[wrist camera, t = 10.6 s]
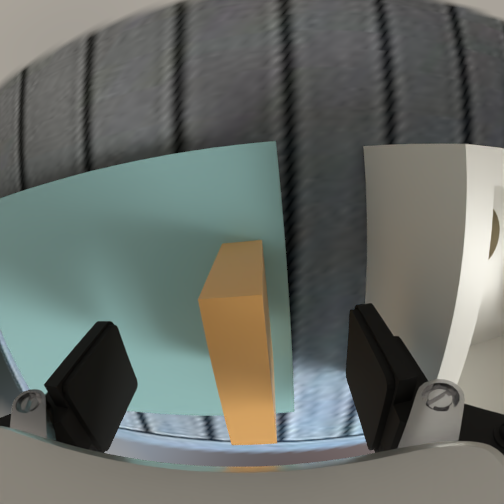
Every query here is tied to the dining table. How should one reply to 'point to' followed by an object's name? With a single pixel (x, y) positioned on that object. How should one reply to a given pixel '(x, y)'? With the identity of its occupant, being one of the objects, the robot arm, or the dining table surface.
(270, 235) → the lid
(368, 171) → the tub
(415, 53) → the dining table surface
